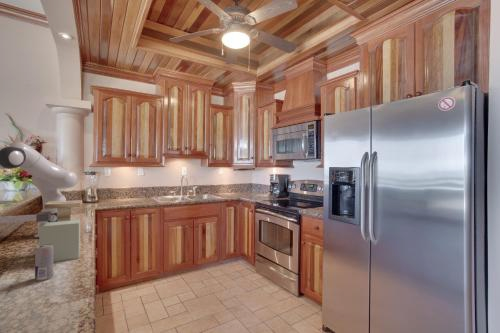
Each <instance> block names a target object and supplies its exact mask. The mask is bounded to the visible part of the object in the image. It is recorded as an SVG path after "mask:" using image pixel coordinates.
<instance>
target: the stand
mask: <svg viewBox="0 0 500 333" xmlns="http://www.w3.org/2000/svg"><path fill="white" fill-rule="evenodd" d="M82 204H83V200H82V199H80V200H79V199H77V200H66V201H54V202H47V203H46V204H44V209H51V208H57V222H59V221H72V208H81V207H82ZM82 245H83V244H82V242H80V252H81V251H82V250H81V249H82Z"/></svg>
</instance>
